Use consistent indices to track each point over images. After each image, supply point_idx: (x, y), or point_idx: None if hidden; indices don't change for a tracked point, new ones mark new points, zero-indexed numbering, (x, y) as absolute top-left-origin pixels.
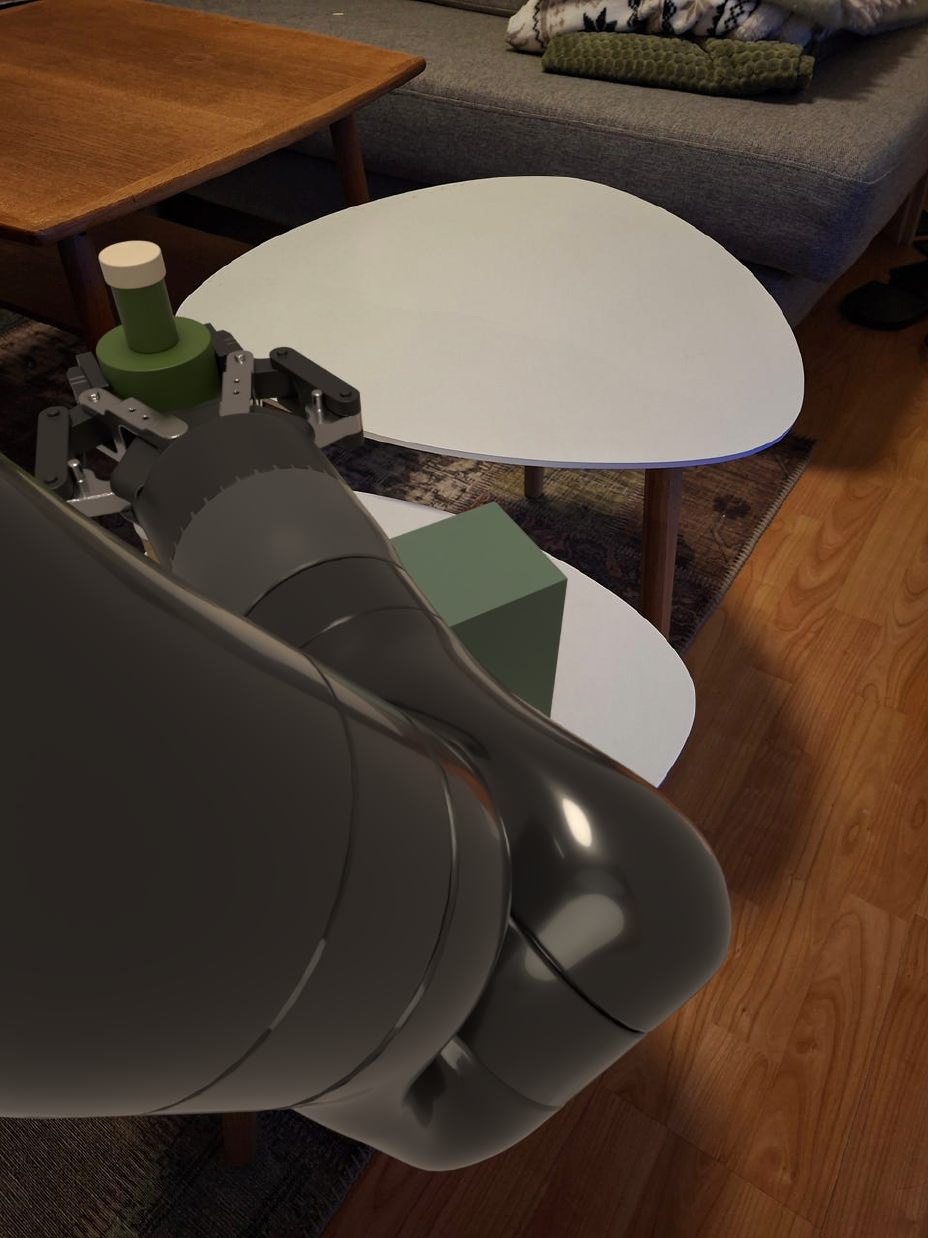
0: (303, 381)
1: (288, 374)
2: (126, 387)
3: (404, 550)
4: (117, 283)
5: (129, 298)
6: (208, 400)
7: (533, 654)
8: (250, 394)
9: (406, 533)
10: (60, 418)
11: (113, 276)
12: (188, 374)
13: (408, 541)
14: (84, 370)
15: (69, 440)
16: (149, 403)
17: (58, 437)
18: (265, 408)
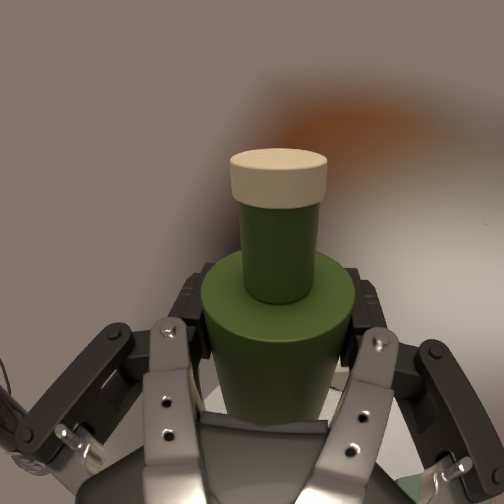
0: (453, 425)
1: (434, 396)
2: (212, 334)
3: (411, 492)
4: (238, 194)
5: (251, 221)
6: (313, 378)
7: None
8: (372, 467)
9: (420, 474)
10: (111, 346)
11: (235, 182)
12: (297, 354)
13: (418, 483)
14: (195, 285)
15: (93, 386)
16: (232, 364)
17: (85, 375)
18: (382, 483)
